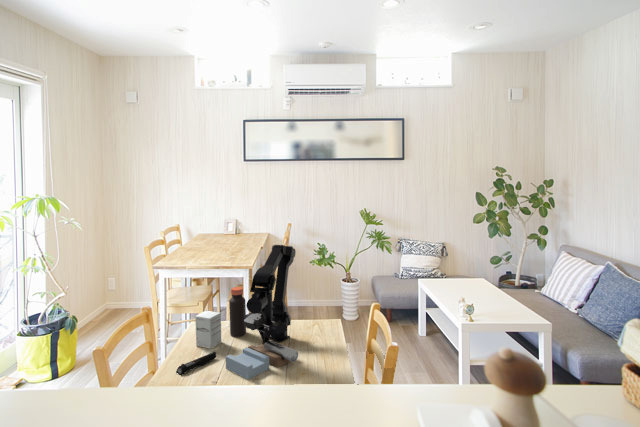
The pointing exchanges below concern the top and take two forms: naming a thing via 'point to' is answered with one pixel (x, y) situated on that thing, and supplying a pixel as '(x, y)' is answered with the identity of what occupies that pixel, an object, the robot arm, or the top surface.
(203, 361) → the electric trimmer
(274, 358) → the beam
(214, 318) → the supplement box
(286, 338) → the robot arm
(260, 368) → the cradle
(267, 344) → the axle
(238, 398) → the top surface
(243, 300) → the bottle
